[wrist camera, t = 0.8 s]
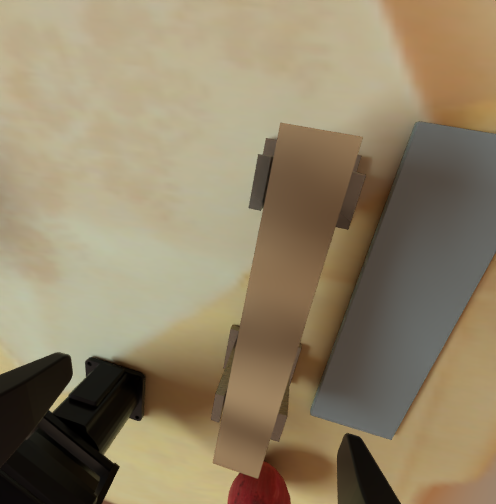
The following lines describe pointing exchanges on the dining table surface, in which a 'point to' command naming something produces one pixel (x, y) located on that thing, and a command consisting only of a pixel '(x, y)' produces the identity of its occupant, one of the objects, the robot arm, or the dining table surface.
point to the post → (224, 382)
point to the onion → (259, 488)
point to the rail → (282, 285)
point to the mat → (413, 278)
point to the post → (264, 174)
